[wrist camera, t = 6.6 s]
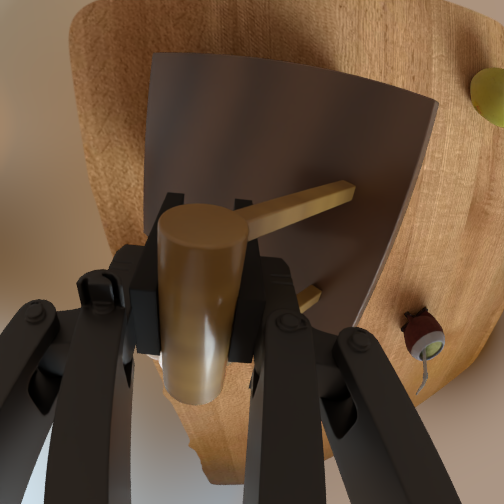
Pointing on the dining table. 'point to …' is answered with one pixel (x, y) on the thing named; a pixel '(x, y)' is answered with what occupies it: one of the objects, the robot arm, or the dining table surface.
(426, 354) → the mate gourd
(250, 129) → the lid
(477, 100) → the apple
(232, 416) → the dining table surface
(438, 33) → the dining table surface
